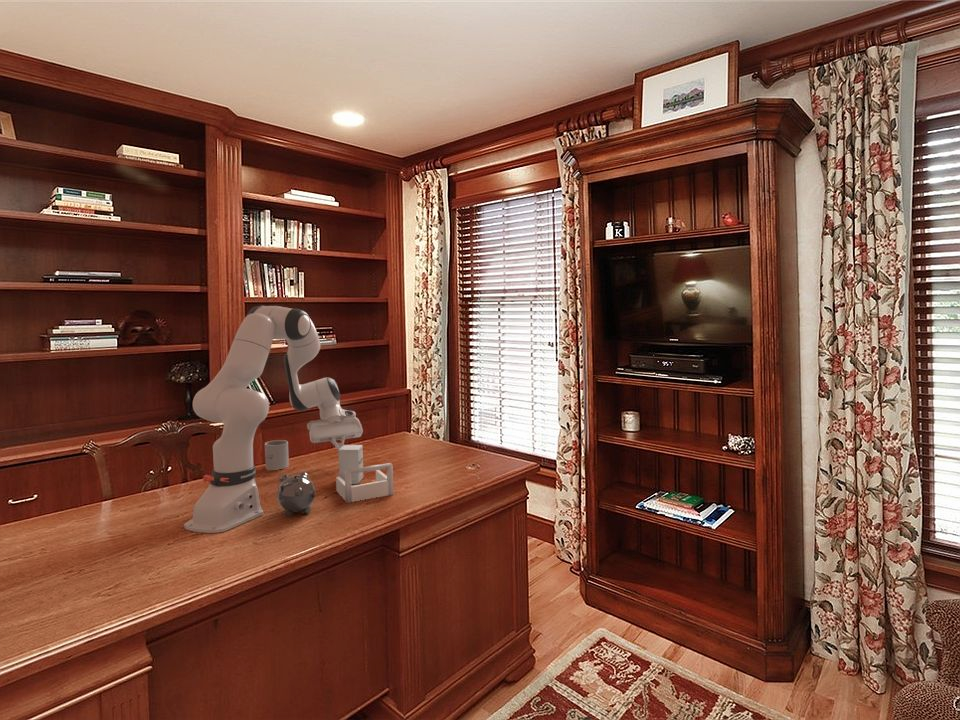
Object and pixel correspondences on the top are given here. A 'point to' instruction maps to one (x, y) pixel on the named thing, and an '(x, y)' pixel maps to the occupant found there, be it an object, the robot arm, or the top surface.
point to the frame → (367, 490)
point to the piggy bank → (295, 493)
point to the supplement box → (351, 461)
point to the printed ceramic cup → (276, 455)
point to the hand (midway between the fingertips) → (340, 448)
